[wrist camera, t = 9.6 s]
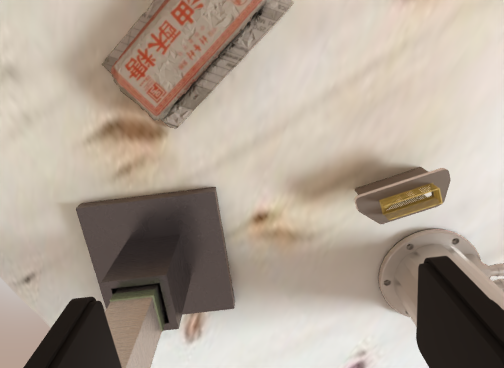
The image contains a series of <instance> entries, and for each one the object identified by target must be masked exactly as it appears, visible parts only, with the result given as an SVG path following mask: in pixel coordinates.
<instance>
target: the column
mask: <svg viewBox="0 0 504 368" xmlns="http://www.w3.org/2000/svg"><path fill="white" fill-rule="evenodd" d="M166 314H167V311H166V307H165V303H164V299H163V295H162V291H161V287H160V283H155V284H147V285H138V286H130V287H121V288H118V289H117V291H116V293H115V294H113V295H112V297H111V299H110V304H109V306H108V308H107V309H106V311H105V315H106V318H107V321H108V325H109V328H110V331H111V334H112V337H113V341H114V344H115V347H116V350H117V354H118V357H119V360H120V363H121V367H122V368H150V367H151V364H152V361H153V358H154V354H155V351H156V348H157V344H158V341H159V338H160V334H161V331H163V329H164V326H165V323H164V321H165V318H166Z"/></svg>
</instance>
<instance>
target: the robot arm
mask: <svg viewBox="0 0 504 368" xmlns="http://www.w3.org/2000/svg"><path fill="white" fill-rule="evenodd" d="M503 275H504V263H503V264H494V265H490V266H488V265H486V264H484V263H483V262H481V259H480V256H479V253H478V252H477V250H476V248H475V247H474V246H473V245H472V244H471V243H470V242H469V241H468V240H467V239H465V238H464V237H463V236H461V235H459V234H457V233H455V232H452V231H448V230H443V229H431V230H424V231H420V232H417V233H414V234H412V235H410V236H408V237H406V238H404V239H403V240H401V241H400V242H398V243H397V244H396V245H395V246H394V247H393V248H392V249H391V250H390V251H389V252H388V254H387V255H386V257H385V258H384V260H383V262H382V264H381V268H380V271H379V286H380V290H381V292H382V294H383V296H384V298H385V300H386V301H387V303H388V304H389V305H390V306H391V307H392V308H393V309H394V310H396V311H397V312H399V313H400V314H403V315H405V316H408V317H411V319H412V320H413V322H414V324H415V325H416V327H417V333H416V339H417V344H418V348H419V350H420V352H421V354H422V356H423V358H424V359H425V361H426V363H427V364H428V366H429V368H504V279H497V280H494V281H492V280H491V279H490V277H491V276H503ZM24 368H122V367H121V363H120V360H119V357H118V354H117V350H116V347H115V344H114V341H113V337H112V334H111V331H110V328H109V325H108V321H107V318H106V315H105V312H104V308H103V305H102V303H101V302H100V301H96V299H95V298H94V297H85V298H76V299H72V300H71V301H70V302H69V304H68V305H67V306H66V308H65V309H64V311H63V312H62V314H61V315H60V316H59V318H58V319H57V321H56V322H55V323H54V325H53V326H52V328H51V329H50V331H49V332H48V333H47V335H46V336H45V338H44V339H43V341H42V342H41V343H40V345H39V347H38V348H37V349H36V351H35V352H34V353H33V355H32V356H31V358H30V359H29V361H28V362H27V363H26V365H25V366H24Z"/></svg>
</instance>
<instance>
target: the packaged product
mask: <svg viewBox="0 0 504 368" xmlns="http://www.w3.org/2000/svg"><path fill="white" fill-rule="evenodd" d="M293 4H294V3H293V2H292V0H154V1H153V2H152V4H151V6H150V7H149V9H148V11H147V12H146V13H144V14H143V15H142V16H141V17H140V19H139V20H138V21H137V22H136V23H135V24H134V26H133V27H132V28H131V29H130V31H129V32H128V34H127V35H126V36H125V37H124V38H123V39H122V40H121V42H120V43H119V44H118V45H117V46H116V47H115V49H114V50H113V51H112V52H111V54H110V55H109V56H108V57H107V58H106V60H105V61H104V62H103V63H102V65H103V66H104V67H105V68H106V69H107V70H108V71H109V72H110V73H111V74H112V76H113V77H114V82H115V83H116V84H117V85H118V86H119V87H120V90H121V92H123V93H124V94H125V95H126V96H128V97H129V98H130V99H132V100H133V101H134V102H135V103H137V104H138V105H139V106H140V107H141V108H142V109H143V110H145V111H146V112H147V113H148V114H149V116H150V117H151V118H152V119H153V120H155V121H156V120H158V121H159V119H161V120H162V121H163V122H164V123H165V124H166V125H167V126H169V127H170V128H178V127H179V126H180V125H181V124H182V123H183V122H184V121H185V119H186V118H187V117H188V116H189V115H190V114H191V113H192V111H193V110H194V109H195V108H196V107H197V106H198V105H199V104H200V103H201V102H202V101H203V100H204V99H205V98H206V97H207V96H208V95H209V94H210V93H211V92H212V91H213V90H214V89H215V88H216V86H217V85H218V84H219V83H220V82H221V81H222V79H223V78H224V77H225V76H226V75H227V74H228V73H229V72H230V71H231V70H232V69H233V68H234V67H235V66H236V65H237V64H238V63H239V62H240V61H241V60H242V59H243V58H244V57H245V56H246V55H247V54H248V52H249V51H250V50H251V49H252V48H253V47H254V46H255V45H256V44H257V43H258V42H259V41H260V40H261V39H262V38H263V37H264V36H265V35H266V34H267V33H268V32H269V30H270V29H271V28H272V27H273V26H274V25H275V24H276V23H277V22H278V21H279V20H280V19H281V18H282V17H283V15H284V14H285V13H286V12H287V11H288V9H289V8H290V7H291V6H292V5H293Z"/></svg>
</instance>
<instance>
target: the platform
mask: <svg viewBox="0 0 504 368" xmlns="http://www.w3.org/2000/svg"><path fill="white" fill-rule="evenodd" d="M449 184H450V175H449V171H448V170H447V169H445V168H439V169H436V170H433V171H430V172H428V171H426V170H425V169H423V168H422V167H419V168H416V169H413V170H410V171H407V172H404V173H401V174H398V175H395V176H392V177H389V178H386V179H383V180H380V181H377V182H374V183H371V184H368V185H365V186H362V187H359V188H356V189H355V191H356V192H357V193H358V195H357V196H356V197H355V199H354V200H355V204H356V208H357V209H358V211H359V212H361V213H362V214H364V215H366V216H367V217H369V218H371V219H372V220H374V221H376V222H377V223H379V224H384V223H387V222H390V221H393V220H396V219H400V218H403V217H406V216H409V215H412V214H415V213H418V212H422V211H425V210H428V209H431V208H434V207H437V206H439V205H441V204H442V203H443V202H444V200H445V197H446V194H447V190H448V187H449ZM429 185H430V186H429ZM428 186H429V187H430V188H429V187H428ZM424 187H425V188H426V189H425V188H424ZM420 188H421V189H422V190H421V189H420ZM423 188H424V189H425V190H426V191H425V190H424V189H423ZM428 188H429V189H430V190H429V189H428ZM419 189H420V190H421V191H422V192H423V193H422V192H421V191H420V190H419ZM428 190H429V191H428ZM424 191H425V192H424ZM407 192H408V193H407ZM412 192H413V193H414V194H413V193H412ZM429 192H432V195H431V196H432V197H431V196H430V197H428V198H427V197H426V196H425V195H423V194H425V193H429ZM406 193H407V194H408V195H407V194H406ZM411 193H412V194H413V195H414V196H413V195H412V194H411ZM420 195H421V196H422V195H423V196H422V197H423V198H422V197H421V196H420ZM407 196H408V197H407ZM419 196H420V197H421V198H422V199H421V198H420V197H419ZM413 197H414V198H415V197H416V198H415V199H416V200H417V201H416V200H415V199H414V198H413ZM425 197H426V198H425ZM401 198H402V199H403V200H402V199H401ZM412 198H413V199H414V200H415V201H416V202H415V201H414V200H413V199H412ZM419 198H420V199H421V200H420V199H419ZM408 199H409V200H408ZM411 199H412V200H413V201H414V202H413V201H412V200H411ZM396 200H397V201H396ZM398 200H399V201H398ZM405 200H406V201H407V200H408V201H409V202H410V203H409V202H408V201H407V202H408V203H409V204H408V203H407V202H406V201H405ZM395 201H396V202H395ZM404 201H405V202H406V203H407V204H406V203H405V202H404ZM398 202H399V203H400V202H401V203H402V204H403V205H404V206H403V205H402V204H401V203H400V204H401V205H402V206H401V205H400V204H399V203H398ZM403 202H404V203H405V204H406V205H405V204H404V203H403ZM412 202H413V203H412ZM395 203H396V204H397V203H398V204H399V205H400V206H401V207H400V206H399V205H398V204H397V205H398V206H399V207H398V206H397V205H396V204H395ZM394 204H395V205H394ZM392 205H393V206H394V207H395V208H394V207H393V206H392ZM391 206H392V207H393V208H394V209H393V208H392V207H391ZM390 207H391V208H392V209H391V208H390ZM396 207H397V208H396ZM389 208H390V209H389ZM387 209H388V210H387ZM386 210H387V211H386Z"/></svg>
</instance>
